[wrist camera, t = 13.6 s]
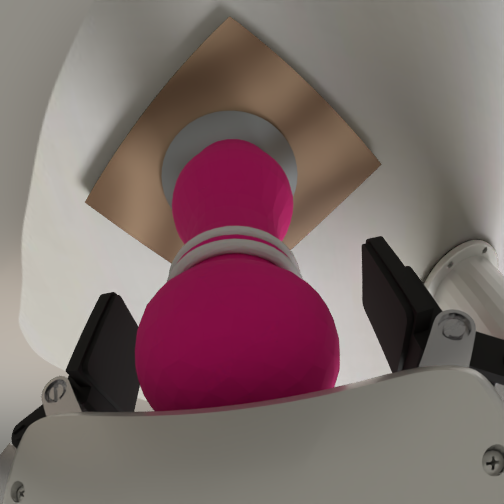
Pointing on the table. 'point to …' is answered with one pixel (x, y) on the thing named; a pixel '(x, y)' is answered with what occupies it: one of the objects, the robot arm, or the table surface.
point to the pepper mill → (234, 293)
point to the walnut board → (231, 127)
